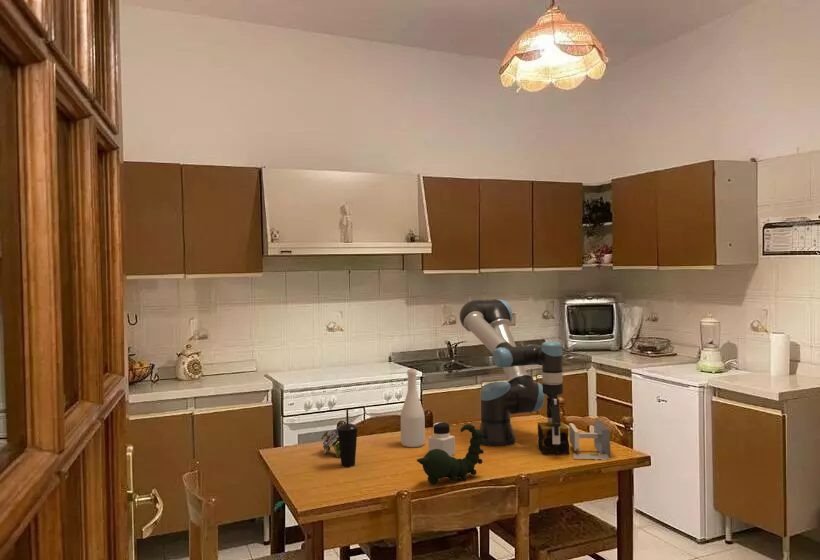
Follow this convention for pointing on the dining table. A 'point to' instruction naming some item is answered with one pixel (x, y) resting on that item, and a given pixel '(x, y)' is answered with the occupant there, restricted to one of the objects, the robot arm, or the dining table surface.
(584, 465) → the dining table surface
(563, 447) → the black and yellow cube
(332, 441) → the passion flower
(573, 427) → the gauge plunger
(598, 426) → the grey open frame block
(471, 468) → the toy figurine
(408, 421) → the wine bottle
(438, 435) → the medicine bottle
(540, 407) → the robot arm
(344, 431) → the drinking cup
